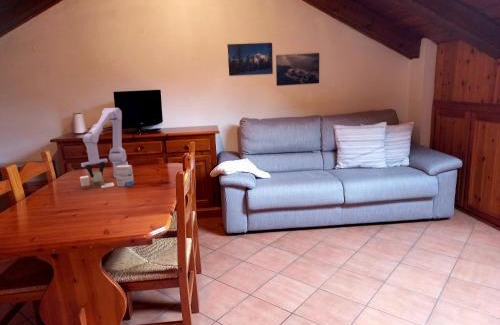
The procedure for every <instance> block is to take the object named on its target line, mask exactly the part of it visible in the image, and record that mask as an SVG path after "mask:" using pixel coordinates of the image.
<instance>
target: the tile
mask: <svg viewBox="0 0 500 325" xmlns="http://www.w3.org/2000/svg"><path fill="white" fill-rule="evenodd" d="M104 184H105V185H103V186H101V187H100V188H101V189H107V188H111V187H112V188H113V187H115V184H114V182H107V183H104Z"/></svg>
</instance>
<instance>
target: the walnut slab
mask: <svg viewBox="0 0 500 325" xmlns="http://www.w3.org/2000/svg"><path fill="white" fill-rule="evenodd" d="M90 184H91V188H92V189H94V188H101V186H103V185H105V184H106V183H105V179H104V178H103V177H102V181H98V182H94V181H92V179H91V181H90Z"/></svg>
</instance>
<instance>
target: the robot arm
mask: <svg viewBox="0 0 500 325" xmlns="http://www.w3.org/2000/svg"><path fill="white" fill-rule="evenodd" d="M122 112H123V111H122V110H121V109H120V108H119V107H104V108H103V109H102V111H101V116H100V118H99V120H98V121H97V122H96V123H95V124H93V125H92V127H91V128H90V129H89V131H88V132H87V133H85V134H84V135H83V136H82V141H83V144H84V145H85V147H86V152H87V157H88V159H87V160H88V161H86V162H81V163H80V165H81V167H82V168H85V169H86V171H87V172H88V174H89V175H90V178H91V177H93V174H92V172H93V165H97V166H98V171H100V172H101V173H102V176H103V173H104V168H105V166H106V163H108V160H109V161H110V162H111V164H112V168H113V177H114V178H115V179H116V172H115V167H116V166H119V165H129V163H128V161H127V157H128V156H127V154H126V149H124V148H123V145H122V143H123V142H122V139H123V136H122V131H123V130H122V128H123V127H122V121H123V119H122V118H123V115H122V114H123V113H122ZM108 121H110V122H111V123H112V148H110V150H109V153H108V154H109V155H108V159H107V158H100V155H99V150H98V142H99V137H100V135H101V133H102V132H103V131H104V128H103V127H104V125H106V123H107V122H108Z"/></svg>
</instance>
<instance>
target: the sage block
mask: <svg viewBox="0 0 500 325" xmlns="http://www.w3.org/2000/svg"><path fill="white" fill-rule="evenodd" d="M92 174H93V177H91V176H90V178H91V180H92V181H94V182H98V181H102V179H103V175H102V173H101V172H100V170H97V171H92Z"/></svg>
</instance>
